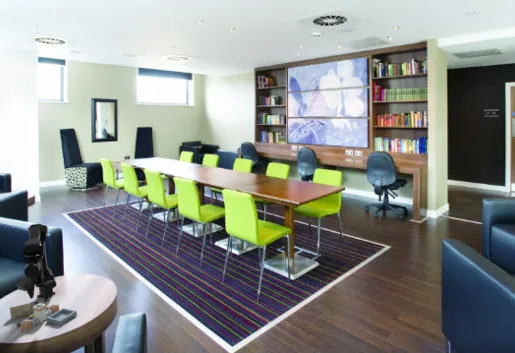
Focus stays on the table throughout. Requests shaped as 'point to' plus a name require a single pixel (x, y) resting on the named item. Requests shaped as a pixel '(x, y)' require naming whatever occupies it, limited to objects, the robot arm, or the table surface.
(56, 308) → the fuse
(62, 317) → the tray
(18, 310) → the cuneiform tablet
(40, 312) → the marked fuse
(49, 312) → the fuse block
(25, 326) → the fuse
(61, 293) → the table surface
